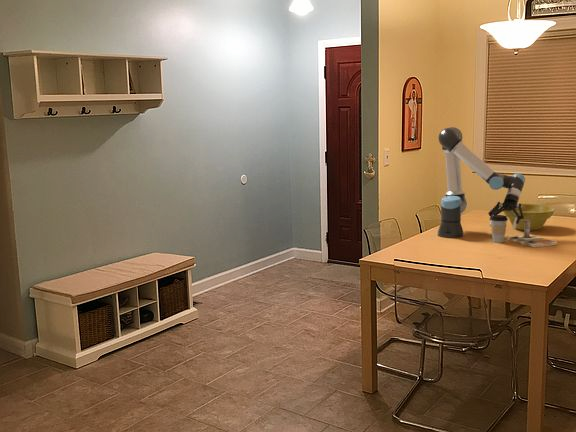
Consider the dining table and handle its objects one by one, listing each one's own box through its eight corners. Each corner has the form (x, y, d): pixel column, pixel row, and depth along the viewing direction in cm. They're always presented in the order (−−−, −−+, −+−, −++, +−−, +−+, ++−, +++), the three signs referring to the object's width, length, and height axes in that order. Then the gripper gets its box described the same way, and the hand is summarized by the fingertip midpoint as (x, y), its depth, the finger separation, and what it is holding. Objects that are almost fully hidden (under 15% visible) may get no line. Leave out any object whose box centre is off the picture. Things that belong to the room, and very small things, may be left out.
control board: (507, 239, 365) (508, 220, 363) (529, 237, 370) (530, 218, 368) (534, 247, 344) (535, 227, 342) (557, 244, 350) (558, 224, 347)
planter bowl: (563, 233, 379) (564, 211, 377) (509, 234, 380) (510, 212, 377) (543, 223, 411) (544, 203, 408) (493, 224, 411) (494, 204, 409)
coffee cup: (488, 242, 359) (489, 217, 356) (491, 239, 367) (492, 214, 364) (505, 244, 354) (506, 218, 352) (508, 240, 363) (509, 215, 360)
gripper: (535, 202, 363) (525, 232, 354) (493, 199, 378) (482, 228, 370) (532, 194, 358) (522, 225, 349) (490, 191, 373) (479, 220, 365)
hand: (502, 226), depth 359 cm, fingers open, 13 cm apart
